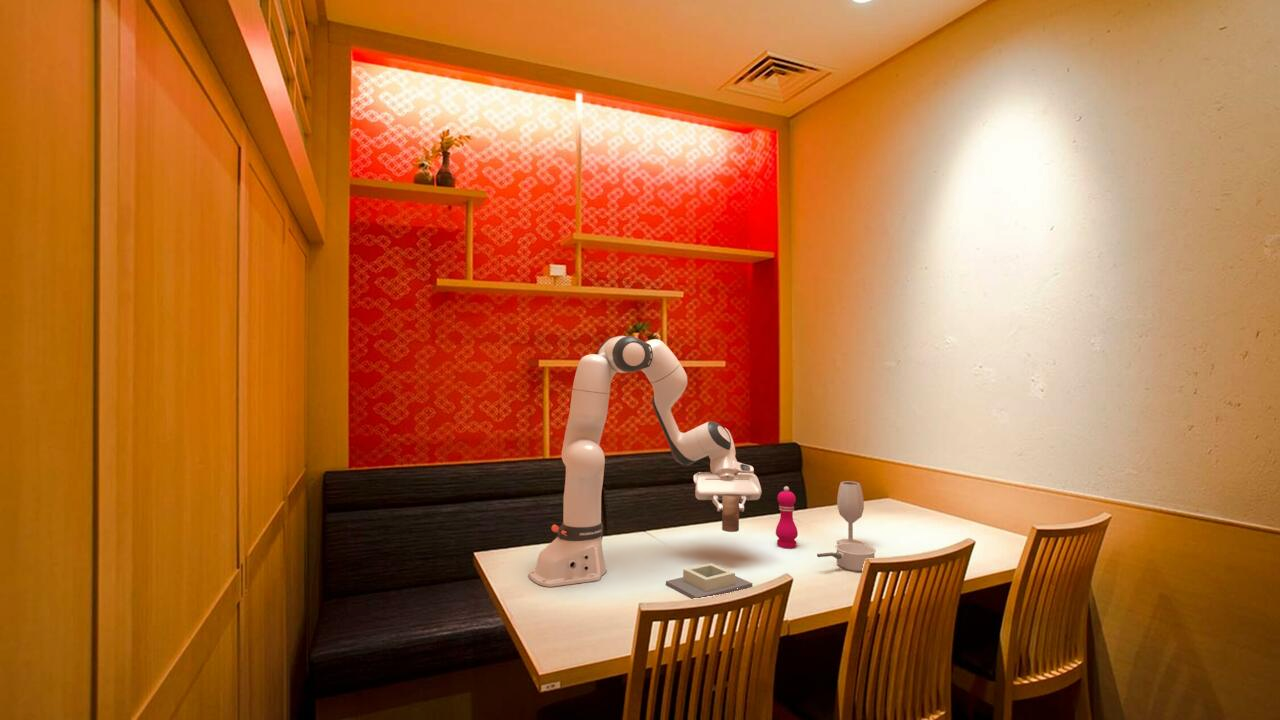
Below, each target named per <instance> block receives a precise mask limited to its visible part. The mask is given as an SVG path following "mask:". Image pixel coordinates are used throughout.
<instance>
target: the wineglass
mask: <svg viewBox="0 0 1280 720" xmlns="http://www.w3.org/2000/svg"><path fill="white" fill-rule="evenodd" d="M837 492H838V493H837V498H836V502H837V503H836V505H837V510H838V514H839V515H840V517H842V518H843V519H844V520H845V521H846V523H847V524H848V531H847V534H848V538H842V539H838V540H836V544H837V545H838V544H843V543H855V544H862V545H866V544H865V543H864V542H863V541H860V540H857V539H853V537H854V534H853V533H854V531H853V530H854V529H853V528H854V527H853V524H854V523H856V522H857V521H858V520H860V518H862V516H863V513H864V509H865V508H864V507H865V505H864V504H865V503H864V502H865V501H864V494H863V490H862V486H861V483H859V482H858V481H857V482H856V481H840V484H839V487H838V491H837Z"/></svg>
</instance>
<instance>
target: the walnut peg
mask: <svg viewBox="0 0 1280 720" xmlns="http://www.w3.org/2000/svg"><path fill="white" fill-rule="evenodd" d="M721 504H723V511H721V520H722V521H721V526H722V527H721V530H722V531H723V532H728V533H737V532H739V530H740V512H739V504H740V500H739V496H737V495H723V496H722V500H721Z"/></svg>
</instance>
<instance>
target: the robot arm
mask: <svg viewBox="0 0 1280 720" xmlns="http://www.w3.org/2000/svg"><path fill="white" fill-rule="evenodd" d="M638 371H641V372H643V374H645V376H646V378H647V379H648V381H649V383H650V385H651V386H652V389H653V395H652V397H651V402H652V403H651V404H652V406H653V410H654V413H655V415H656V417H657V420H658V422H659V424H660V426H661V429H662V431H663V433H664V437H665V438H666V440H667V443H668V445H669V449H670V452H671V455H672V457H673V459H674V460H675V462H677V463H678V464H681V465H684V466H686V467H687V466H690V465H692V464H694V463H696V462H698V461H699V460H701V459H704V458H705V457H709V460H710V462H709V467H710V471H704V472H702V471H698V472H697V473H694V475H693V476H692V478H693V479H692V480H693V482H694V484H695V490H694V491H695V498H696V499H697V500H700V501H701V500H702V501H712V503H713V504H714V506H715V507H716V510H717V512H722V511H723V504H722V503H720V502H719V501H722V496H723V495H737V496H739V502H740V503H739V513H740V512H741V513H742V512H744V511H745V503H746V501H758V500H759V499H760V498H761V496H762V493H763V492H762V487H761V484H760V481H759V478H758V476H757V475H756V474H755V473H754V471H755V470H754V469H755V468H754V467H753V466H752V465H750V464H745V463H742V462H739V461H738V460H737V458H736V455H737V452H736V446H735V443H734V442H735V441H734V440H733V436H732V434H731V432H730V430H729V429H727V428H726V427H725V426H723V425H722V424H720V423H718V422H716V421H711V420H710V421H707V422H705V423H703V424H700V425H698V426H696V427H695V428H692V429H691V430H688V431H686V432H681V431H680V430H679V427H678V424H677V422H676V420H675V418H674V415H673V413H672V408H673V406H674V404H676V402H677V401H678V400H679V399H680V398H681V397H682V395H683V394H684V392H685V390H686V389H687V385H688V376H687V373H686V371H685V369H684V367H683V365H682V364H681V362H680V361H679V360H678V358H677V356H676V355H675V354H674V353H673V352H672V350H671V349H670V348H669V346H667V344H666V343H664V341H662V340H660V339H657V338H654V339H649V340H647V341H643V340H641V339H640V338H638V337H636V336H631V335H627V336H625V335H618V336H614V337H610V338H607V340H604V342H602V343H601V345H600V347H599V348H598V350H597V351H596V352H595V354H594V353H592V354H591V353H589V354H586V355H585V356H584V355H583V356H582V357H581V358H580V360H579V362H578V365H577V367H576V371H575V374H574V375H575V376H574V379H573V385H572V390H571V396H570V397H571V400H570V405H569V407H570V408H569V413H568V419H567V423H566V428H565V433H564V437H563V438H564V439H563V444H562V449H561V459H562V460H561V461H562V462H563V464H564V466H565V482H564V491H563V511H562V513H563V519H562V520H563V522H562V523H561V525H560V526H559V525H557V524H552V526H551V531H552V532H554V533H557V536H556V537H555V539H553V540H552V541H551V543H549V544H548V545H547V546H546V547H545V548H543V550H542V551H540V552H539V554H538V557H537V561H536V567H535V568H531V569H530V570H529V571H528V577H529V579H530V580H531V581H532V582H534V583H535V584H538V585H540V586H543V587H547V588H548V587H549V588H550V587H552V588H553V587H559V586H566V585H574V584H581V583H589V582H596V581H600V580H601V578H602V576H603V575H604V574H606V573H607V571H608V570H607V567H606V563H605V558H604V553H603V543H602V542H603V536H604V535H603V522H602V490H603V484H604V477H605V476H604V473H605V464H606V458H605V453H604V450H603V449H602V447H601V446H600V443H601V440H602V435H603V431H604V428H605V427H604V426H605V424H606V423H607V422H606V421H607V416H608V409H609V401H610V392H611V383H612V380H613V378H614V376H615V375H616V374H617V373H620V374H624V373H629V374H630V373H636V372H638Z"/></svg>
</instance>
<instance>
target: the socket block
mask: <svg viewBox="0 0 1280 720" xmlns="http://www.w3.org/2000/svg"><path fill="white" fill-rule="evenodd" d="M682 572H683V573H682V574H683V575H682V577H679V578H678V577H677V578H674V579H670V580H665V585H666V586H667V585H668V586H667V587H669V586H670V587H669V588H671V589H673V590H674V591H677V592H678V593H680V594H683V595H685V596H686V597H689V598H690V599H692V600H694V599H693V598H701V597H707V596H713V595H719V594H724V593H728V592H731V593H733V592H732V591H735V592H737V591H736V590H739V591H742V590H741V589H743V590H746V589H749V588H748V587H750V588H752V587H753V582H750V581H748V580H746V579H743V578H741V577H739V576H736V573H735V572H734V571H732V570H729V569H726V568H724V567H722V566H719V565H716V564H715V563H712V562H710V563H706V564H702V565H697V566H693V567H688V568H683V569H682ZM751 586H752V587H751ZM737 588H738V589H737ZM745 588H746V589H745ZM728 594H729V593H728ZM724 595H725V594H724Z"/></svg>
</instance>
